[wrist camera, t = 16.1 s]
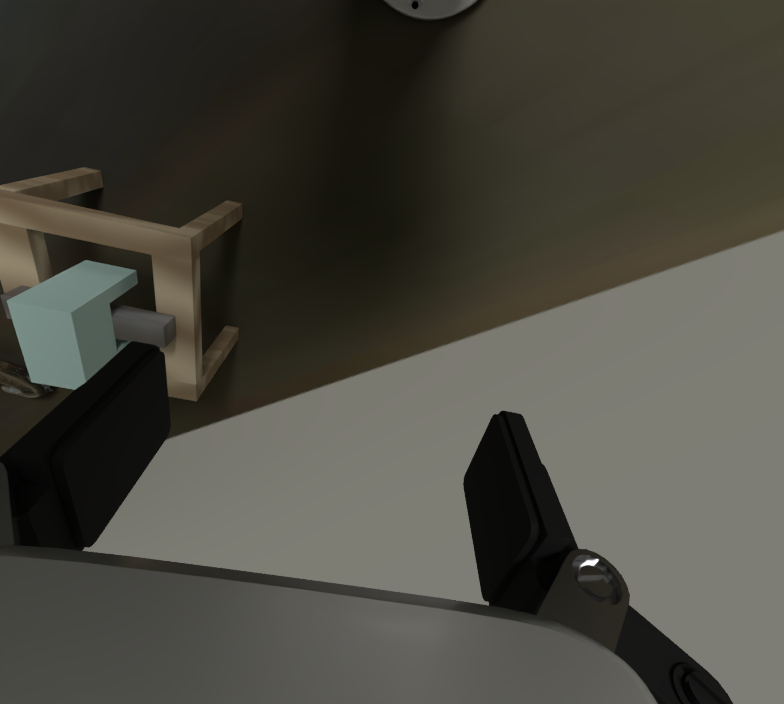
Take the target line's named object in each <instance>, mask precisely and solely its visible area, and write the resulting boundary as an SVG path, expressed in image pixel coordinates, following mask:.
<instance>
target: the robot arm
mask: <svg viewBox="0 0 784 704" xmlns="http://www.w3.org/2000/svg"><path fill="white" fill-rule="evenodd" d="M383 1H384V2H385V3H386V4H387V5H388V6H390V7H391V8H393V9H394V10H396V11H397V12H399V13H401V14H402V15H405V16H408V17H411V18H414V19H418V20H428V21H433V20H440V19H446V18H449V17H451V16H454V15H456V14H459V13H461V12H463V11H464V10H466V9H467V8H469V7H470V6H472V5H473V4H475V3H476V2H477V1H478V0H383ZM413 2H417V3H418V8H417V9H413V8H412V3H413ZM169 431H170V412H169V400H168V388H167V375H166V363H165V355H164V353H163V352H161V351H159V348H158V347H157V346H156V345H153V344H147V343H142V342H137V341H132V342H130V343H129V344H127V345H126V346H125V347H124V348H123V349H122V350H121V351H120V352H119V353H118V354H116V355H115V356H114V357H113V358H112V359H111V360H110V361H109V362H108V363H106V364H105V365H104V366H103V367H102V368H101V369H100V370H99V371H98V372H96V373H95V374H94V375H93V376H92V377H91V378H90V379H89V380H88V381H87V382H85V383H84V384H82V385H81V386H79V387H78V388H77V389H76V390H74V391H73V392H72V393H71V394H70V395H69V396H68V397H67V398H65V399H64V400H63V401H62V402H61V403H60V404H59V405H58V406H57V407H55V408H54V409H53V410H52V411H51V412H50V413H49V414H48V415H47V416H45V417H44V418H43V419H42V420H41V421H40V422H39V423H38V424H37V425H35V426H34V427H33V428H32V429H31V430H30V431H29V432H28V433H27V434H25V435H24V436H23V437H22V438H21V439H20V440H19V441H18V442H16V443H15V444H14V445H13V446H12V447H11V448H10V449H9V450H8V451H6V452H5V453H4V454H3V455H2V456H1V457H0V704H733V703H732V701H731V700H730V698H729V696H728V694H727V693H726V692H725V690H724V689H723V688H722V686H721V685H720V684H719V682H718V681H717V680H716V679H715V678H714V677H713V676H712V675H711V674H710V673H709V672H708V671H707V670H705V669H704V668H703V667H702V666H700V665H699V664H698V663H697V662H696V661H695V660H694V659H692V658H691V657H690V656H689V655H688V654H687V653H685V652H684V651H683V650H682V649H681V648H679V647H678V646H677V645H676V644H674V642H672V641H671V640H670V639H669V638H668V637H666V636H665V635H664V634H663V633H662V632H661V631H659V630H658V629H657V628H656V627H655V626H653V625H652V624H651V623H650V622H649V621H647V620H646V619H645V618H644V617H643V616H642V615H640V614H639V613H638V612H637V611H636V610H634V609H633V608H632V607H631V606H630V605H629V597H630V595H629V591H628V587H627V585H626V583H625V581H624V579H623V577H622V575H621V574H620V573H619V572H618V571H617V569H616V568H615V567H614V566H613V565H612V564H611V563H610V562H608V561H607V560H606V559H605V558H603V557H602V556H600V555H599V554H597V553H595V552H592V551H589V550H587V549H578V547H577V544H576V542H575V539H574V537H573V534H572V532H571V529H570V527H569V524H568V522H567V519H566V517H565V514H564V512H563V509H562V507H561V504H560V502H559V499H558V497H557V494H556V492H555V489H554V487H553V485H552V482H551V479H550V477H549V475H548V472H547V470H546V468H545V466H544V465H543V464H542V463H541V460H540V458H539V456H538V453H537V450H536V448H535V445H534V443H533V440H532V438H531V435H530V433H529V430H528V428H527V425H526V423H525V420H524V418H523V416H522V415H521V414H517V413H512V412H507V411H501V412H500V413H499V414H498V415H496V414H494V415H493V417H492V418H491V420H490V423H489V425H488V427H487V429H486V431H485V433H484V435H483V437H482V440H481V442H480V444H479V446H478V448H477V450H476V453H475V455H474V457H473V459H472V461H471V463H470V465H469V467H468V469H467V472H466V474H465V477H464V484H463V485H464V492H465V498H466V504H467V510H468V516H469V522H470V528H471V534H472V539H473V545H474V551H475V557H476V563H477V569H478V574H479V581H480V586H481V592H482V597H483V599H484V600H485V601H488V602H489V606H487V605H480V604H475V603H468V602H462V601H456V600H450V599H443V598H436V597H429V596H422V595H415V594H407V593H400V592H393V591H386V590H379V589H372V588H365V587H357V586H350V585H343V584H336V583H328V582H321V581H313V580H306V579H299V578H291V577H284V576H276V575H268V574H261V573H254V572H246V571H239V570H231V569H224V568H216V567H208V566H200V565H193V564H185V563H177V562H170V561H162V560H153V559H146V558H139V557H131V556H122V555H114V554H105V553H94V552H86V551H82V550H83V549H84V547H90V546H92V545H93V544H94V543H95V542H96V541H97V539H98V538H99V536H100V535H101V533H102V532H103V530H104V529H105V527H106V526H107V524H108V523H109V521H110V520H111V519H112V517H113V516H114V514H115V513H116V511H117V510H118V508H119V506H120V505H121V504H122V502H123V501H124V500H125V498H126V497H127V495H128V493H129V492H130V491H131V489H132V488H133V486H134V485H135V484H136V482H137V480H138V479H139V478H140V476H141V475H142V473H143V472H144V470H145V469H146V467H147V466H148V464H149V463H150V461H151V460H152V459H153V457H154V456H155V454H156V453H157V451H158V450H159V448H160V447H161V445H162V444H163V443H164V441H165V440H166V438H167V436H168V434H169Z"/></svg>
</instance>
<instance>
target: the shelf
mask: <svg viewBox="0 0 784 704" xmlns="http://www.w3.org/2000/svg"><path fill="white" fill-rule="evenodd" d="M102 187H103V182H102V175H101V171H99V170H94V169H90V168H86V167H83V168H79V169H74V170H69V171H65V172H60V173H55V174H51V175H46V176H41V177H37V178H32V179H27V180H23V181H18V182H13V183H9V184H4V185H0V280H1V283H2V286H3V290H4V294H2V295H0V296H1V299H2V302H3V305H4V309H5V312H6V315H7V318H9V319H12V317H11V314H10V311H9V307H8V304H7V300H9V299H11V298H13V297H15V296H17V295H19V294H21V293H22V292H24V291H26V290H28V289H30V288H32V287H34V286H36V285H38V284H40V283H42V282H44V281H46V280H48V279H50V278H52V277H53V274H52V269H51V265H50V261H49V256H48V252H47V247H46V243H45V239H44V234H43V232H46V233H51V234H56V235H60V236H65V237H70V238H74V239H79V240H84V241H89V242H93V243H98V244H103V245H108V246H112V247H117V248H122V249H126V250H131V251H136V252H141V253H145V254H150V255H152V266H153V277H154V288H155V300H156V311H157V312H154V311H149V310H144V309H139V308H134V307H129V306H124V305H120V304H115V303H109V304H110V310H111V316H112V322H113V329H114V335H115V339H120V340H125V341H131V342H132V341H137V342H142V343H147V344H153V345H156V346H157V347H160V351H161V352H163V353H164V355H165V363H166V375H167V388H168V396H169V397H175V398H181V399H186V400H192V401H197V400H198V399H199V397H200V396H201V394H202V393H203V391H204V390H205V388H206V387H207V385H208V384H209V382H210V381H211V379H212V378H213V376H214V375H215V373H216V372H217V370H218V369H219V367H220V366H221V364H222V363H223V361H224V360H225V358H226V357H227V355H228V354H229V352H230V351H231V349H232V348H233V346H234V345H235V343H236V342H237V340H238V339H239V328H237V327H232V326H227V325H226V326H225V327H224V329H223V330H222V331H221V333H220V334H219V335H218V336H217V338H216V339H215V340H214V342H213V343H212V344H211V346H210V347H209V348H208V350H207V351H206V352H205V354H204V355H203V356H202V330H201V290H200V250H202V249H203V248H204V247H205V246H207V245H208V244H209V243H211V242H212V241H213V240H215V239H216V238H217V237H219V236H220V235H221V234H223V233H224V232H225V231H227V230H228V229H229V228H230V227H232V226H233V225H234V224H236V223H237V222H238V221H240V220H241V219H242V210H243V204H242V203H238V202H234V201H229V200H227V201H225V202H223V203H222V204H220V205H218V206H217V207H215V208H213V209H211V210H210V211H208V212H206V213H205V214H203V215H201V216H199V217H198V218H196V219H194V220H193V221H191V222H189V223H188V224H186V225H184V226H182V227H181V228H176V227H171V226H166V225H162V224H157V223H153V222H148V221H144V220H139V219H135V218H130V217H125V216H121V215H116V214H112V213H107V212H103V211H98V210H94V209H89V208H84V207H80V206H75V205H71V204H66V203H62V202H57V201H58V200H61V199H65V198H68V197H71V196H75V195H78V194H82V193H85V192H88V191H92V190H95V189H99V188H102Z"/></svg>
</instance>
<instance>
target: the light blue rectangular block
mask: <svg viewBox="0 0 784 704" xmlns="http://www.w3.org/2000/svg"><path fill="white" fill-rule="evenodd" d="M136 284H138V281H137V272H136V270H132V269H127V268H122V267H118V266H113V265H108V264H103V263H98V262H93V261H88V260H85V261H83V262H81V263H79V264H77V265H75V266H73V267H71V268H69V269H67V270H65V271H63V272H62V273H60V274H58V275H56V276H54V277H52V278H50V279H48V280H46V281H44V282H42V283H40V284H38V285H36V286H34V287H32V288H30V289H28V290H26V291H24V292H22V293H21V294H19V295H17V296H15V297H13V298H11V299H9V300H7V304H8V307H9V311H10V314H11V317H12V320H13V324H14V327H15V330H16V333H17V337H18V340H19V343H20V346H21V350H22V353H23V356H24V360H25V363H26V366H27V369H28V373H29V376H30V379H31V382H33V383H39V384H45V385H50V386H56V387H62V388H68V389H74V390H76V389H77V388H78V387H79V386H81V385H82V384H84V383H85V382H87V381H88V380H89V379H90V378H91V377H92V376H93V375H94V374H95V373H96V372H98V371H99V370H100V369H101V368H102V367H103V366H104V365H105V364H106V363H108V362H109V361H110V360H111V359H112V358H113V357H114V356H115V355H116V354H118V353H119V352H120V351H121V350H122V349H123V348H124V347H125V346H126V345H127V344H129V343H130V342H131V341H125V340H120V339H115V335H114V329H113V322H112V316H111V310H110V304H109V303H111V302H112V301H114V300H115V299H116V298H118V297H119V296H121V295H122V294H124V293H125V292H126V291H128V290H129V289H131V288H132V287H134V286H135V285H136Z"/></svg>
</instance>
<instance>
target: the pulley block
mask: <svg viewBox="0 0 784 704" xmlns="http://www.w3.org/2000/svg"><path fill="white" fill-rule="evenodd" d="M0 383H2V385H1V388H2V389H3V390H4V391H5V392H7V393H12V394H16V395H19V396H24V397H28V398H38V397H41V396H43V395H45V394H46V393H47V392H50V391H53V390H51V388H50V385H45V384H39V383H33V382H31V379H30V376H29V373H28V371H27V370H25V369H23V368H21V367H19V366H16V365H13V364H11V363H8V362H4V361H1V360H0Z"/></svg>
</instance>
